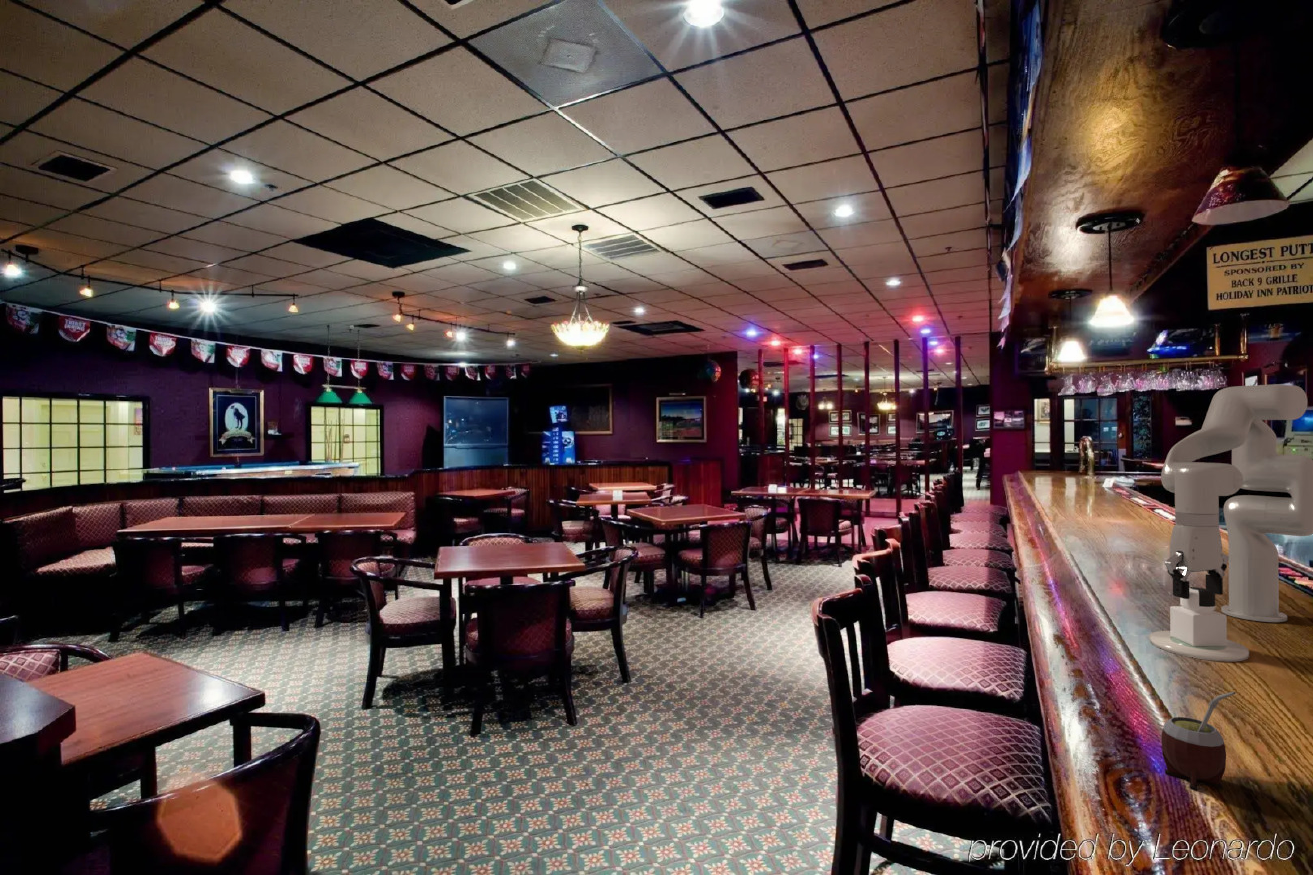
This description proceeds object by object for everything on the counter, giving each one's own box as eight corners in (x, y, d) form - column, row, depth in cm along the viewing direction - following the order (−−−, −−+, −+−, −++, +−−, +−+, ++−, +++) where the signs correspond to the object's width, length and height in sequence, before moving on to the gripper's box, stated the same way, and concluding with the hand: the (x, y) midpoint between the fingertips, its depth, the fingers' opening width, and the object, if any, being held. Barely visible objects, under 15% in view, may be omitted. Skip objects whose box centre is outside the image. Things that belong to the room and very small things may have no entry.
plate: (1153, 631, 155) (1153, 625, 155) (1248, 646, 143) (1248, 640, 143) (1146, 649, 142) (1146, 643, 142) (1249, 667, 131) (1249, 661, 131)
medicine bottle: (1201, 636, 146) (1201, 585, 146) (1227, 647, 139) (1227, 593, 139) (1169, 636, 146) (1169, 585, 146) (1193, 646, 139) (1193, 592, 139)
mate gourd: (1162, 762, 95) (1161, 663, 95) (1232, 780, 90) (1232, 675, 90) (1161, 784, 89) (1160, 678, 89) (1236, 804, 84) (1236, 692, 84)
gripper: (1207, 515, 148) (1208, 587, 148) (1150, 520, 144) (1151, 594, 144) (1244, 519, 141) (1245, 596, 141) (1184, 525, 137) (1185, 603, 137)
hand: (1197, 595), depth 143 cm, fingers open, 9 cm apart
